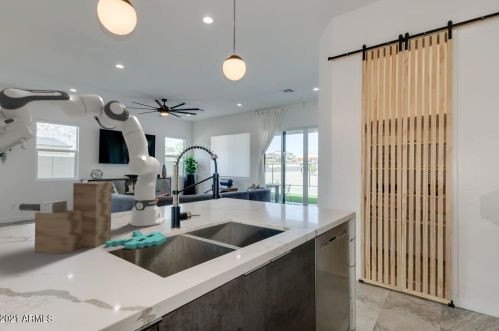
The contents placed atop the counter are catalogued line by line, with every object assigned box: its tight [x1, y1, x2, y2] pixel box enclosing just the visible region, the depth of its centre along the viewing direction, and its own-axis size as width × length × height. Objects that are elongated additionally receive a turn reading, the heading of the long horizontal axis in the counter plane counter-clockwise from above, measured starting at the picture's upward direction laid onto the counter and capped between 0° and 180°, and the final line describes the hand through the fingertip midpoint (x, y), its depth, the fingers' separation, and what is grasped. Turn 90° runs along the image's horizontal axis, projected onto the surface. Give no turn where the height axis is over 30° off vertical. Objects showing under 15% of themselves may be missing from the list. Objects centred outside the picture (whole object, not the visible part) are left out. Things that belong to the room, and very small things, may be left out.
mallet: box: [18, 199, 68, 213], centre depth 103 cm, size 7×16×4 cm, turn 84°
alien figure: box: [105, 230, 167, 250], centre depth 115 cm, size 20×2×20 cm
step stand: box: [34, 181, 113, 254], centre depth 108 cm, size 18×19×26 cm
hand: (12, 155), depth 104 cm, fingers open, 8 cm apart
